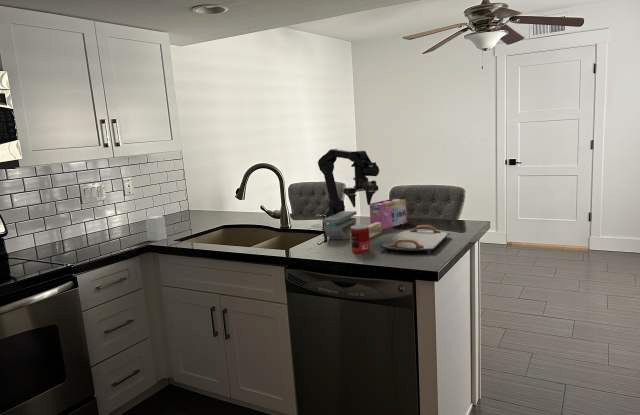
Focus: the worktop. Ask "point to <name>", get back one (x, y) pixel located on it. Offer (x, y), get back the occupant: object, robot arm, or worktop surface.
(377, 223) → the maple stop board
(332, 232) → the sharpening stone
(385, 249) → the serving board
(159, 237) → the supplement box
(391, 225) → the gum box
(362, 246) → the canned food
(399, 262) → the worktop surface
